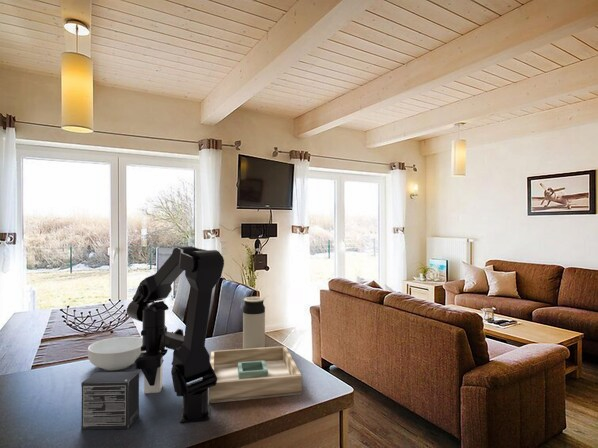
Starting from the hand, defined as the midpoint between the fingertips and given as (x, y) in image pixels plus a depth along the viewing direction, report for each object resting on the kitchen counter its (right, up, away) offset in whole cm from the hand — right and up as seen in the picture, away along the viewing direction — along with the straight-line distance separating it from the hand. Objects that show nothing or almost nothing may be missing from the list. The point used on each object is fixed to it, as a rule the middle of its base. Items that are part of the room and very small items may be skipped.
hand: (153, 382), depth 99 cm
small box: (-3, -2, -16) cm, 17 cm away
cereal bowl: (-18, -2, +16) cm, 25 cm away
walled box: (+26, -2, +7) cm, 27 cm away
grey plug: (0, -2, 0) cm, 2 cm away
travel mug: (+23, -2, +34) cm, 41 cm away
